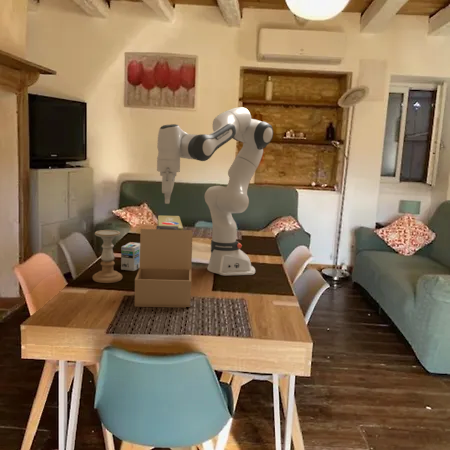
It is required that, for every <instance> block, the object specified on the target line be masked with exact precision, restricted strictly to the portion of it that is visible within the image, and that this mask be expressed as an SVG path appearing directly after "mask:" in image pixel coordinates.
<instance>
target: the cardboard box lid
mask: <svg viewBox="0 0 450 450" xmlns="http://www.w3.org/2000/svg"><path fill="white" fill-rule="evenodd" d="M193 232H194V231H193V230H191V229H190V230H187V229H186V230H185V229H183V230H178V226H158V225H156V227H155V228H140V234H139V235H140V237H139V239H140V241H139V243H140V268H161V269H191V270H192V263H193V262H192V261H193V234H194V233H193Z"/></svg>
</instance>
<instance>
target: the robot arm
mask: <svg viewBox="0 0 450 450" xmlns="http://www.w3.org/2000/svg"><path fill="white" fill-rule="evenodd" d="M212 131H213V132H211V133H210V134H201V133H200V134H194V133H193V134H191V133H188V132H186V131H184V130H183V129H182V128H181V127H180V125H179V124H176V123H174V124H173V123H171V124H163V125H161V127H159V129H158V134H157V142H156V143H157V152H158V153H157V158H156V172H159V176H161V177H162V178H161V193H162V194H164V204H165V205H166V204H167V205H170V201H171V197H172V196H171V195H172V192H173V190H174V185H175V179H176V177H177V173H179V172H180V171H181V159H188V160H196V161H200V162H205V161H208V160H210V159H211V158H212V157H213V155H214V153H215V152H217V150H219V149H220V148H221V147H223V146H224V145H225V144H227V143H228V142H229V141H231V140H235V141H237V142H238V141H239V142H241V143H242V147H241V148H240V150H239V151H238V153H237V155H236V157H235V158H234V159H233V162H232V163H231V165H230V167H229V168H228V171H227V175H228V182H227V185H226V186H222V185H214V186H210V187H208V188H207V189H206V191H205V193H204V201H205V203H206V205H207V207H208V209H209V212H210V216H211V217H210V218H211V221H212V222H211V224H212V233H211V234H212V235H211V236H212V237H211V241H210V257H209V262H208V265H207V268H206V269H207V271H209V272H210V273H214V274H217V275H220V276H252V275H255V273H256V268H255V267H254V266H253V265H252V263H251V259H250V257H249V256H248V255H247V253H245V252H244V251H243V250H241V248H242V246H243V245H242V244H241V242H239V241H238V240H237V229H238V227H237V222H236V221H235V219H234V217H233V215H232V214H241V213H244V212H245V211H246V210H248V207H249V205H250V199H249V196H248V188H249V185H250V182H251V181H252V179H253V176H254V174H255V172H256V170H257V169H258V167H259V165H260V163H261V160H262V158H263V154H264V149H265V148H266V147H267V146H268V145H269V144H270V143H271V141H272V140H273V138H274V137H273V136H274V129H273V126H272V124H270V123H268V122H266V121H261V120H258V119H255V118H252V115H251V112H250V111H249V110H248V109H247V108H246V107H243V106H239V107H233V108H231V109H228V110H225V111H223V112H221V113H219V114H218V115H217V116H215V117H214V119H213V121H212Z"/></svg>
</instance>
